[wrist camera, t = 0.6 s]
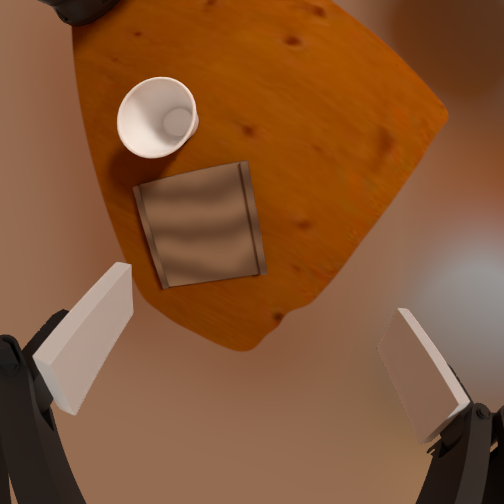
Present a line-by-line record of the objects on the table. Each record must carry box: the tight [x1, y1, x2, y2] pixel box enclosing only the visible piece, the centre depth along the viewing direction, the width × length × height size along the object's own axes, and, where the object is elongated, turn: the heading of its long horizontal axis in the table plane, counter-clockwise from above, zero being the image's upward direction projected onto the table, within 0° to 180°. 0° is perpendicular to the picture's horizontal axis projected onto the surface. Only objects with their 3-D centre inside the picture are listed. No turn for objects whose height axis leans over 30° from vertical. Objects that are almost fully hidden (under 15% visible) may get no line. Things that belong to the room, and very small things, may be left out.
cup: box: [117, 77, 199, 158], centre depth 31 cm, size 10×10×11 cm
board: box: [133, 160, 267, 289], centre depth 42 cm, size 18×18×2 cm
